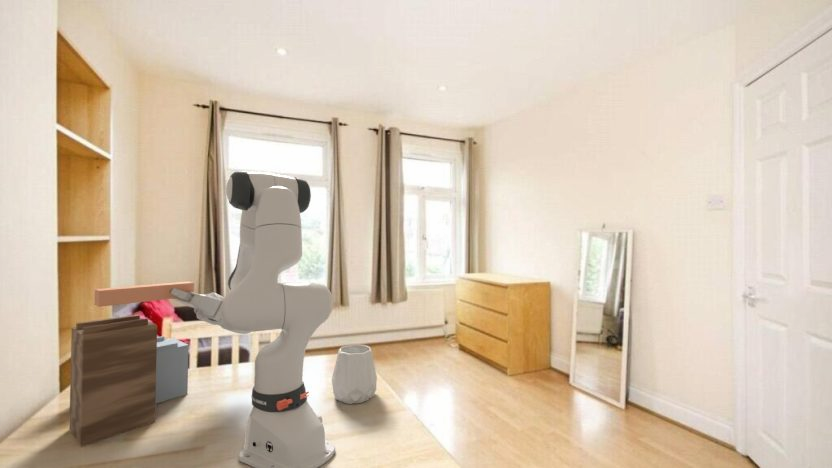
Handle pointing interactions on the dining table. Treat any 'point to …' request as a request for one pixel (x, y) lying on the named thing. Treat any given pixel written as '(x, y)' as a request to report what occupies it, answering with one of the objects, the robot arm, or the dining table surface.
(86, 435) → the stand
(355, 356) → the vase
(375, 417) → the dining table surface
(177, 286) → the baton
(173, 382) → the step
